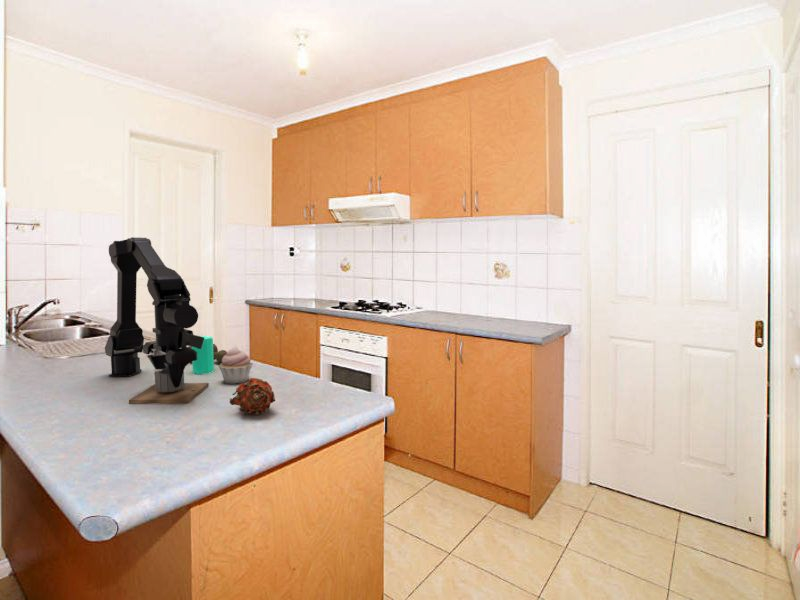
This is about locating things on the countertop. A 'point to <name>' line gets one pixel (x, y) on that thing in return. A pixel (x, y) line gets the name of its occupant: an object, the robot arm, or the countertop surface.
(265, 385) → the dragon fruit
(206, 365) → the candle
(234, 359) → the cupcake
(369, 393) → the countertop surface
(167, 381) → the gray faceted pot
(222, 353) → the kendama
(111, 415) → the countertop surface
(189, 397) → the square brown plate
